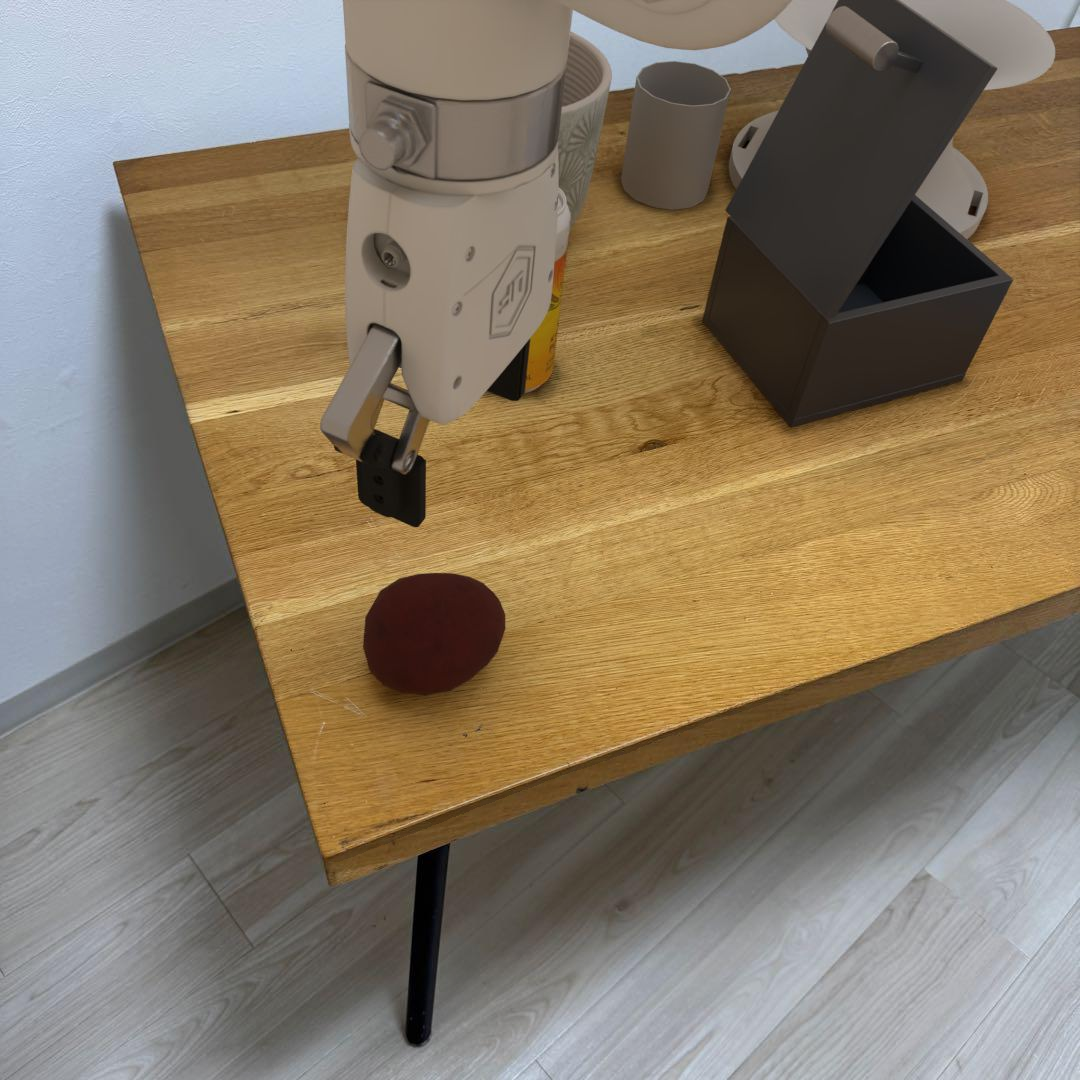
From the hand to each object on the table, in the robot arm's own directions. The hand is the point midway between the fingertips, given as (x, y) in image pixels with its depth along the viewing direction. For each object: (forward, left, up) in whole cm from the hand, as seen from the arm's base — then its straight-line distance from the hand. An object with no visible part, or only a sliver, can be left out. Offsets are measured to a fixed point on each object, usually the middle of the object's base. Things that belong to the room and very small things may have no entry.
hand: (446, 446), depth 49 cm
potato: (0, +1, -17) cm, 17 cm away
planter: (+18, -41, -17) cm, 48 cm away
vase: (-8, -68, -17) cm, 71 cm away
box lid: (-10, -37, +1) cm, 38 cm away
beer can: (+8, -25, -17) cm, 31 cm away
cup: (+8, -57, -17) cm, 60 cm away
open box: (-13, -41, -17) cm, 46 cm away
